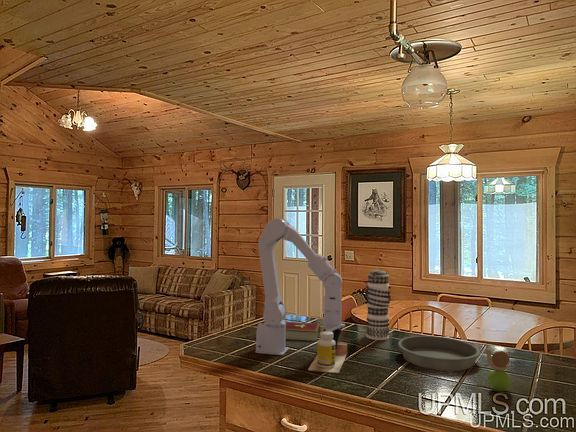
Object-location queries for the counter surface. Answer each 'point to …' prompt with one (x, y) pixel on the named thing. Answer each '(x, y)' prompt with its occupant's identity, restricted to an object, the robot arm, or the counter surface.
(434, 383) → the counter surface
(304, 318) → the counter surface
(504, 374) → the snail figurine
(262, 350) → the robot arm
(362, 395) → the counter surface
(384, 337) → the decorative candle
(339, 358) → the strip
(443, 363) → the cake pan
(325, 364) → the supplement bottle
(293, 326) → the hardcover book
